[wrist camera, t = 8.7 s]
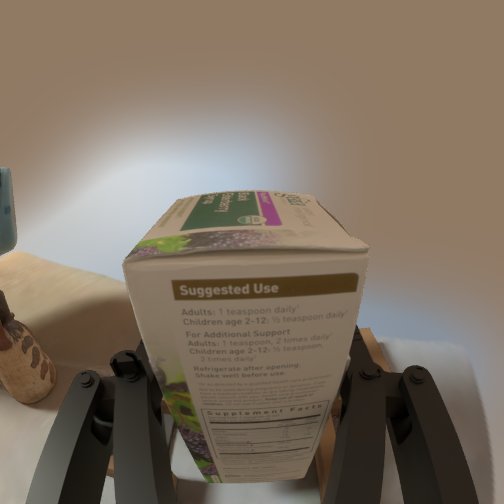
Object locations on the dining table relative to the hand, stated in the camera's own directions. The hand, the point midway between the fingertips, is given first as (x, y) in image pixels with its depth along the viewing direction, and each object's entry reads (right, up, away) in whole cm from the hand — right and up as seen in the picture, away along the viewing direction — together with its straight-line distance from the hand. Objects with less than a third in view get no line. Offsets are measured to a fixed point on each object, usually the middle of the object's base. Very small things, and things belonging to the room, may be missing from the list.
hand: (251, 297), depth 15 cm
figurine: (-24, -12, +5) cm, 27 cm away
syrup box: (0, -10, -1) cm, 10 cm away
